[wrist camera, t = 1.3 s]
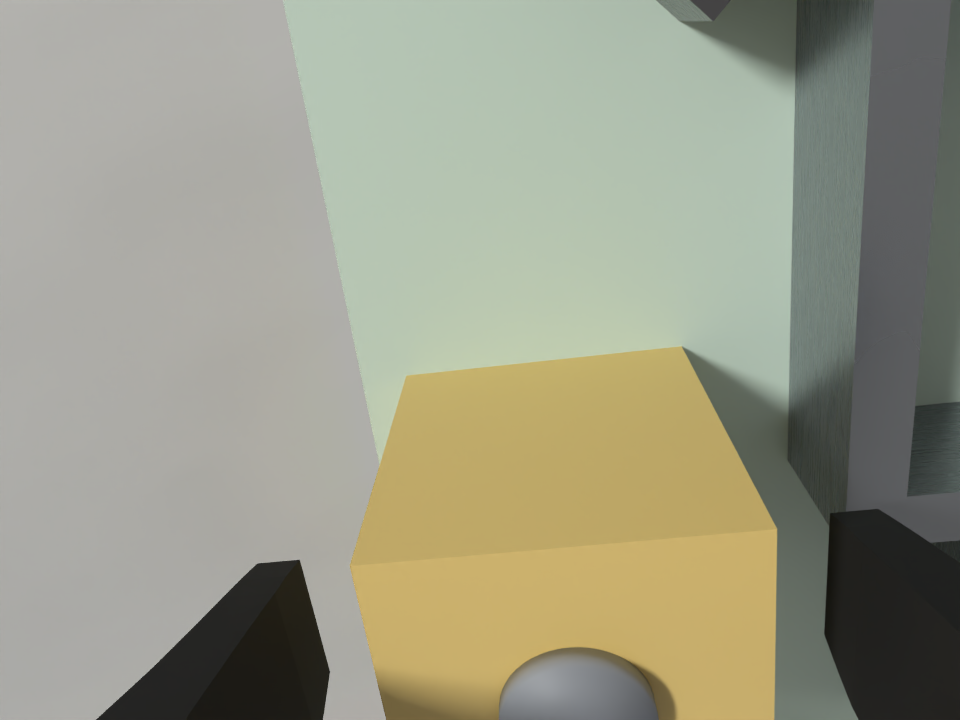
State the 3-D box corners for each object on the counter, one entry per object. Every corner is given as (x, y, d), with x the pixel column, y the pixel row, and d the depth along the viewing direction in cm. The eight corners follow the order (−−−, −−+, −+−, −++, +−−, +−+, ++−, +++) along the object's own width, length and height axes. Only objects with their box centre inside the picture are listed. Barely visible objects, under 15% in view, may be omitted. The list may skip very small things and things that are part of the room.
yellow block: (689, 573, 14) (780, 852, 10) (446, 593, 15) (414, 871, 10) (681, 346, 13) (785, 547, 8) (406, 375, 13) (344, 584, 8)
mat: (1218, 780, 17) (1234, 798, 16) (459, 824, 18) (457, 841, 18) (1708, -755, 8) (1765, -793, 8) (198, -452, 9) (184, -471, 9)
